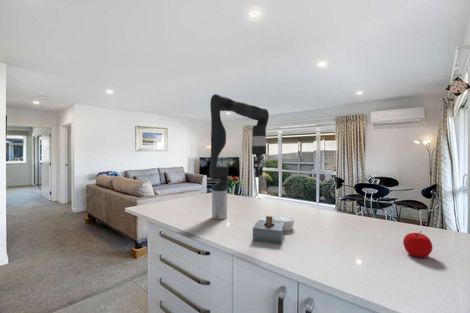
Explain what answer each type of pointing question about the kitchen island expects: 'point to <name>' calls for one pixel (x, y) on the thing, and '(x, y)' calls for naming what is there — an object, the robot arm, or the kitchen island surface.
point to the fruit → (417, 244)
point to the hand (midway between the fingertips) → (258, 176)
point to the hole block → (268, 232)
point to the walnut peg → (269, 221)
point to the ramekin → (285, 222)
